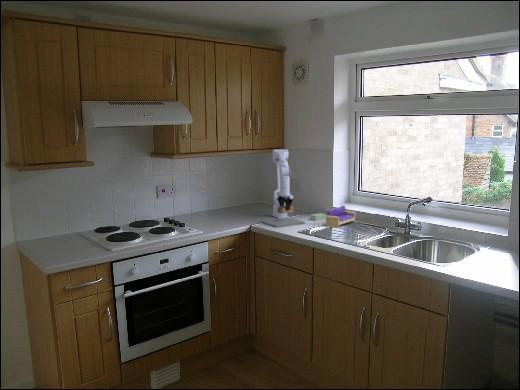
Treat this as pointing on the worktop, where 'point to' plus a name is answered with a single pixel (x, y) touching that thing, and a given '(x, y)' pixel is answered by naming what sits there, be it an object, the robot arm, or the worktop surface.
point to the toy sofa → (339, 216)
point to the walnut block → (283, 209)
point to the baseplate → (282, 222)
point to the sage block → (317, 217)
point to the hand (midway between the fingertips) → (284, 209)
